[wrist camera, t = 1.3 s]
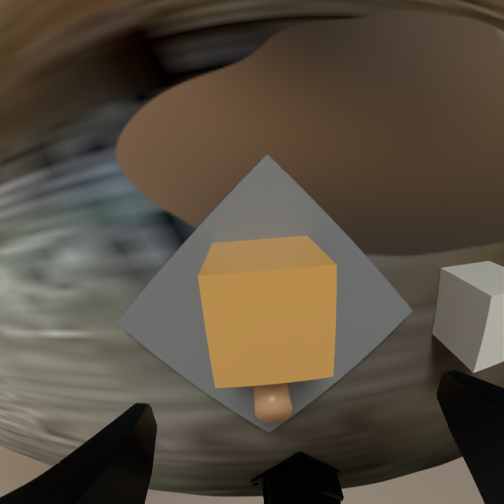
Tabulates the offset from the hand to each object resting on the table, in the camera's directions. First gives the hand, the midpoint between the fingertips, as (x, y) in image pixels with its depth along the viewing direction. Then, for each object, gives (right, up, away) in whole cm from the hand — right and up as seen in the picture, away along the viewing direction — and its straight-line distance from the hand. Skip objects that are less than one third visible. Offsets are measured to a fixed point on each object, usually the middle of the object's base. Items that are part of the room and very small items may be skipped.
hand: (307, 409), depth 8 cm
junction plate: (-1, 0, +12) cm, 12 cm away
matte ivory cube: (+15, +1, +13) cm, 20 cm away
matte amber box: (-1, +3, +11) cm, 11 cm away
